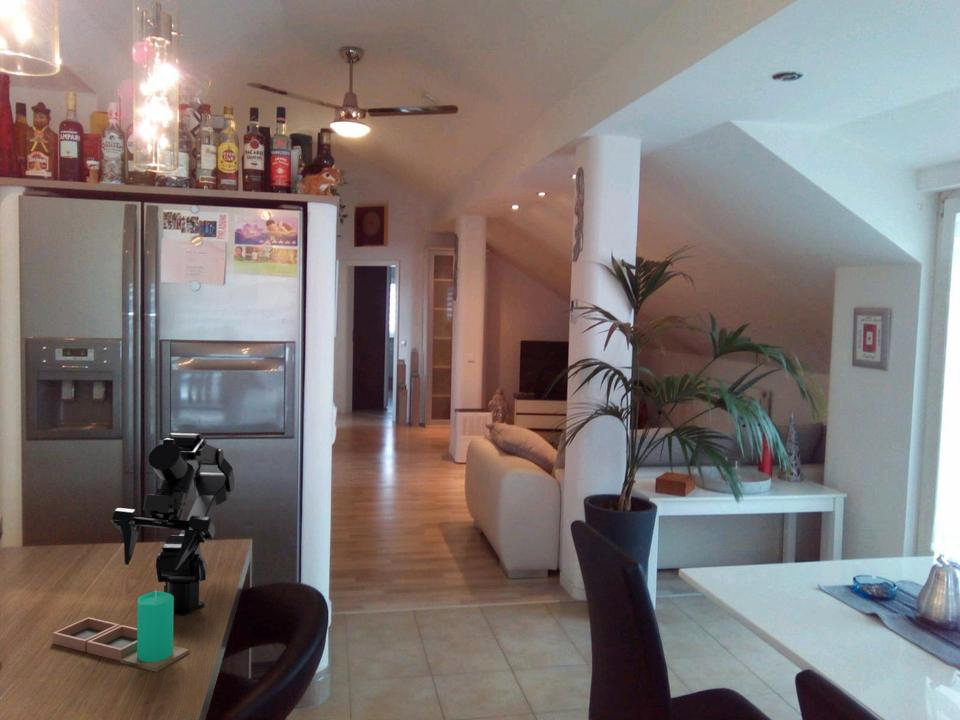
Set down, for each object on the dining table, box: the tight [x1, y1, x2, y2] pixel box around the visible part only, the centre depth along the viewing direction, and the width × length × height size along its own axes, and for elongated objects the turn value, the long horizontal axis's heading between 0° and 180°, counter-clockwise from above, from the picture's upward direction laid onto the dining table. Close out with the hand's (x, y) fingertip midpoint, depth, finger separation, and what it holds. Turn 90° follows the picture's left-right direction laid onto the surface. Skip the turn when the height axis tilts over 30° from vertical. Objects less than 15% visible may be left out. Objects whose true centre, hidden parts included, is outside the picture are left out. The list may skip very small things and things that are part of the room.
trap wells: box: [51, 616, 137, 662], centre depth 139 cm, size 16×8×2 cm, turn 70°
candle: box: [136, 590, 175, 662], centre depth 134 cm, size 6×6×12 cm
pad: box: [120, 645, 190, 673], centre depth 134 cm, size 8×8×1 cm
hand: (150, 566), depth 142 cm, fingers open, 9 cm apart
